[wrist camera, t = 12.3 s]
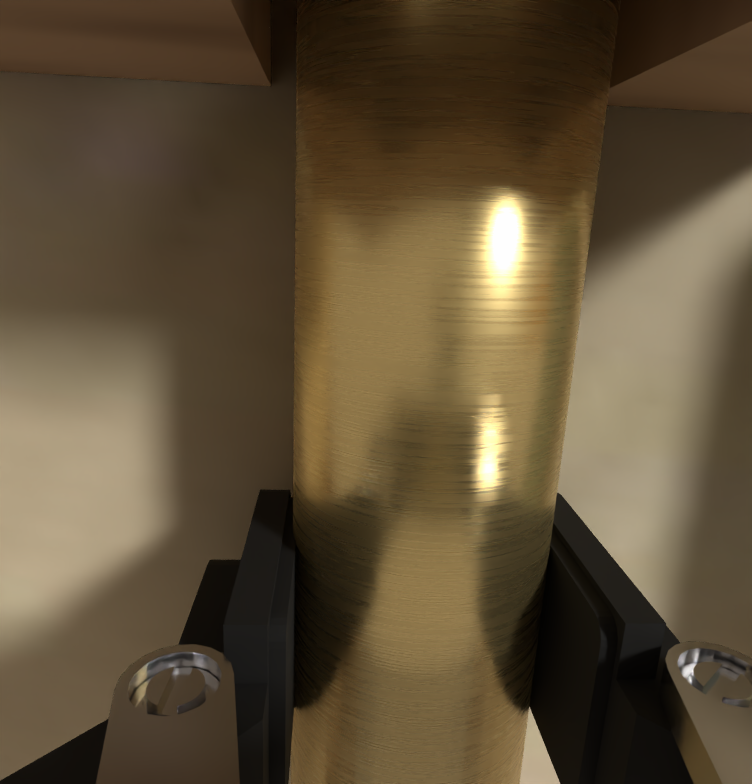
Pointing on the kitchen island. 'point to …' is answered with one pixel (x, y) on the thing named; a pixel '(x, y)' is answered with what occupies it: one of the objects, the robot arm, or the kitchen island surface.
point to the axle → (433, 368)
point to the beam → (253, 46)
